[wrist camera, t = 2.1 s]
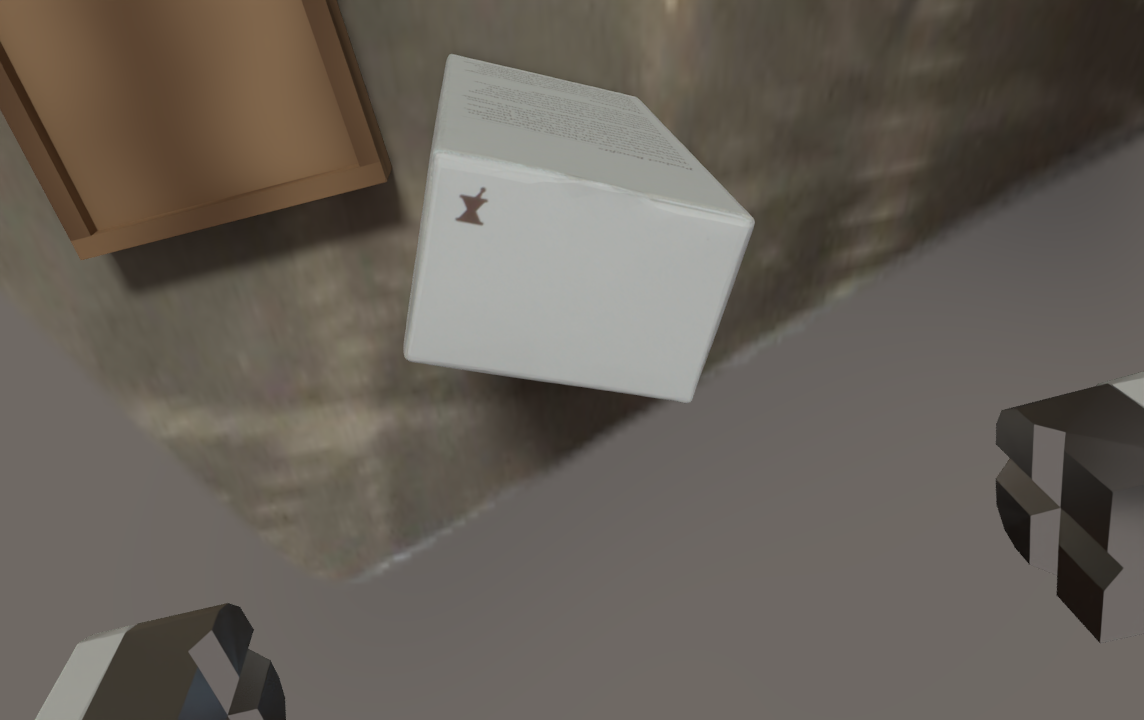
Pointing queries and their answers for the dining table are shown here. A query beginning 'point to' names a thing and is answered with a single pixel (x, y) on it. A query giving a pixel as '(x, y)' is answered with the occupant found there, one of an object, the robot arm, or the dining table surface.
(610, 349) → the skincare box
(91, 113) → the walnut tray
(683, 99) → the dining table surface
